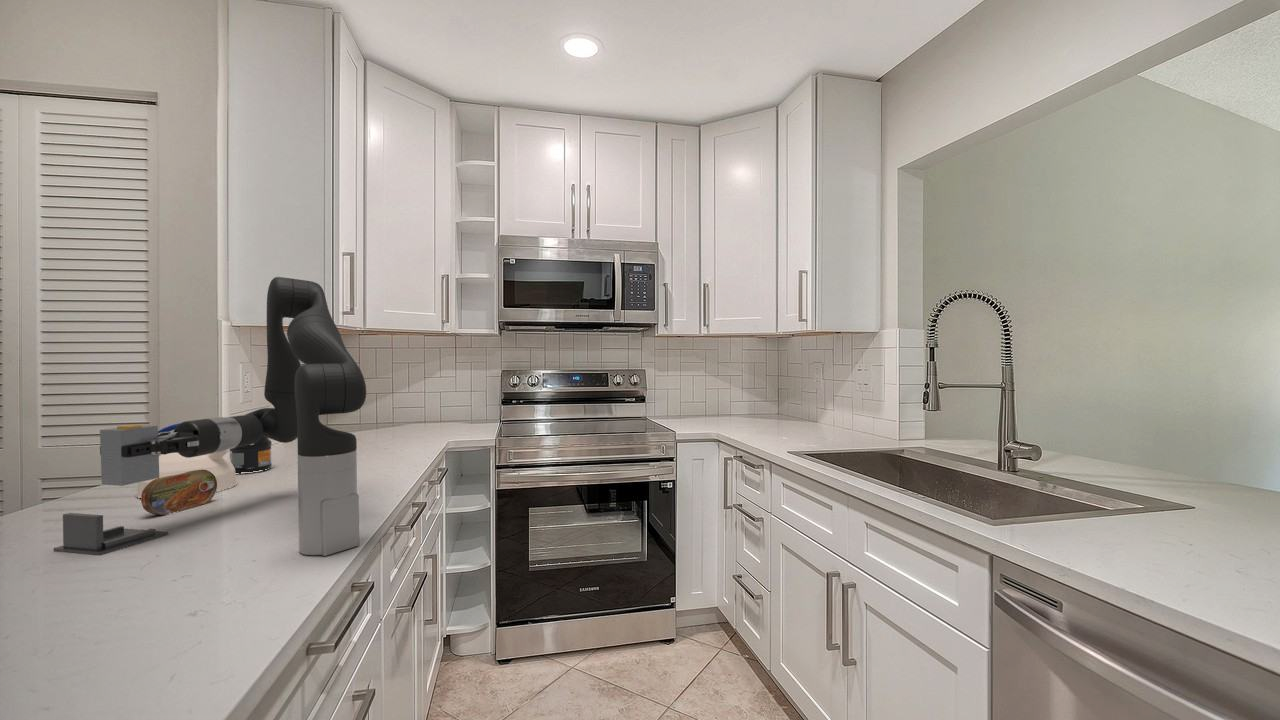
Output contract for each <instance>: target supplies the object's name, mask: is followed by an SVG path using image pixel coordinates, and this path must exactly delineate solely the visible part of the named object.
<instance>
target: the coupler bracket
mask: <svg viewBox="0 0 1280 720" xmlns="http://www.w3.org/2000/svg"><path fill="white" fill-rule="evenodd" d="M167 534H168V535H169V532H168V531H163V530H156V528H148V529H137V528H125V526H122V525H120V526H115V527H112V528H109V529H104V515H103V514H91V513H78V512H77V513H76V512H75V513H74V512H68V513H64V514H62V539H63V541H62V544H63V545H60V546H56V547H53V551H54V552H62V553H73V554H83V555H85V554H86V555H94V556H102V555H105V554H108V553H111V552H115V551H118V550H121V549H120V548H122V549H124V548H123V547H125V548H128V547H131V546H134V545H133V544H135V545H137V543H138V544H141V543H145V542H148V541H150V540H155V539H158V538H161V537H165V536H167ZM147 540H148V541H147ZM144 541H145V542H144ZM140 542H141V543H140ZM130 545H131V546H130ZM127 546H128V547H127ZM117 549H118V550H117Z"/></svg>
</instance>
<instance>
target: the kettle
mask: <svg viewBox="0 0 1280 720" xmlns="http://www.w3.org/2000/svg"><path fill="white" fill-rule="evenodd" d="M180 423H181V422H180ZM180 423H175V424H171V425H168V426H166V427H163V428H161V429H158V433H160V432H173V431H174V430H175V428H176V427H177V426H178V425H179V424H180ZM227 453H230V449H229V450H226V451H222V452H217V453H212V454H206V455H201V456H196V457H191V458H187V457H183V456H181V455H180V454H179V453H169V454H165V455H163V454H159V478H161V477H166V476H171V475H175V474H179V473H184V472H188V471H193V470H207V471H210V472H211V473H212V474H213V475H214V476H215V478H216V480H217V489H216V491H219V490H223V489H227V488H229V487H232V486H234V485H235V484H236V482H237V476H236V475H237V474H235V468H234V466H233V464H232V463H231V461H230V458H228V457H227V456H226V454H227ZM156 479H157V478H156ZM153 480H155V479H152V480H147V481H142V482H138V483H137V490H136V491H137V492H136V496H138V497H141V496H142V492H143V490H144V488H145V487H146V486H147V485H148V484H149V483H150V482H151V481H153ZM237 483H238V482H237ZM235 486H236V485H235ZM235 486H234V487H235ZM232 488H233V487H232ZM227 490H228V489H227Z"/></svg>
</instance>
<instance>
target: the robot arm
mask: <svg viewBox="0 0 1280 720" xmlns="http://www.w3.org/2000/svg"><path fill="white" fill-rule="evenodd" d="M285 318H288V319H292V320H291V321H290V322H289V324H288V326H287V331H286V334H285V331H284V325H283V324H284V321H283V320H284V319H285ZM266 345H267V346H266V348H267V351H266V352H267V353H266V355H267V364H266V376H265V381H264V382H265V383H264V390H263V391H264V392H263V394H264V399H265V400H266V401H267V402H269V404H271V405H272V406H273V407H266V408H265V407H263V408H259V409H255V410H254V411H251V412H248V413H246V414H243V415H235V416H226V417H225V416H222V417H221V416H219V417H210V418H201V419H194V420H193V419H192V420H187V421H183V422H180V424H179V423H178V424H179V425H178V426H177V427H176V428H175V430H173V431H172V432H171V431H169V432H160V433H158V440H152V441H150V442H145V443H138V444H132V445H126V446H124V447H123V456H124V457H126V458H129V457H135V456H141V455H147V454H149V452H150V455H156V454H159V455H161V454H163V455H165V454H169V453H179V454H180V455H181V456H183V457H187V458H191V457H196V456H201V455H206V454H212V453H217V452H222V451H226V450H229V449H232V448H237V447H242V446H247V445H251V444H254V443H256V442H258V441H259V440H260V439H261V437H262V436H264V437H267V438H268V439H269V440H274V441H275V442H279V443H281V444H282V443H283V444H287V443H292V442H293V441H295V440H296V439H297V501H298V502H297V504H298V505H297V506H298V507H297V509H298V512H297V514H298V517H297V518H298V550H299V551H298V552H299V553H300V554H302V555H306V556H322V557H324V556H327V557H328V556H330V555H333V554H336V553H339V552H342V551H345V550H348V549H351V548H356V547H357V546H360V499H359V498H360V497H359V494H358V471H357V470H358V467H357V465H358V464H357V463H358V462H357V460H358V457H357V454H358V452H357V448H358V446H357V437H356V435H355V434H353V433H351V432H346V431H343V430H339V429H338V430H337V429H333V428H331V427H328V426H327V425H325V424H323V423H322V422H321V421H320V418H319V417H320V416H321V415H323V416H324V415H339V414H348V413H353V412H356V411H358V410H360V409H361V408H362V407H363V406H364V404H365V403H366V398H367V385H366V381H365V378H364V375H363V373H362V370H361V368H360V366H359V364H358V363H357V362H356V361H355V359H354V358H353V357H352V356H351V354H350V353H349V351H348V350H347V348H346V346H345V343H344V341H343V338H342V337H341V333H340V331H339V329H338V327H337V325H336V323H335V322H334V320H333V317H332V315H331V313H330V311H329V306H328V301H327V298H326V294H325V291H324V289H323V288H322V286H321V285H320V284H319V283H317V282H315V281H311V280H305V279H298V278H292V277H291V278H290V277H281V276H276V277H273V278H272V279H271V281H270V282H269V285H268V289H267V295H266ZM301 362H302V363H303V364H301ZM99 455H100V456H101V448H100V447H99Z"/></svg>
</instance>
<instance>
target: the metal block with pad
mask: <svg viewBox="0 0 1280 720" xmlns="http://www.w3.org/2000/svg"><path fill="white" fill-rule="evenodd" d="M158 431H159V426H158V425H148V424H146V425H142V424H126V425H125V424H124V425H117V426H116V427H113V428H106V429H105V428H104V429H99V441H100V442H99V444H100V445H99V449H100V448H101V455H100V470H101V471H100V474H101V485H105V486H118V487H122V486H123V487H124V486H128V485H133V484H136V483H137V484H138V482H142V481H147V480H152V479H156V478H159V456H160V454H156V455H150V452H149V454H147V455H141V456H135V457H129V458H126V457H124V456H123V447H124V446H126V445H132V444H138V443H145V442H150V441H152V440H158Z"/></svg>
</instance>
